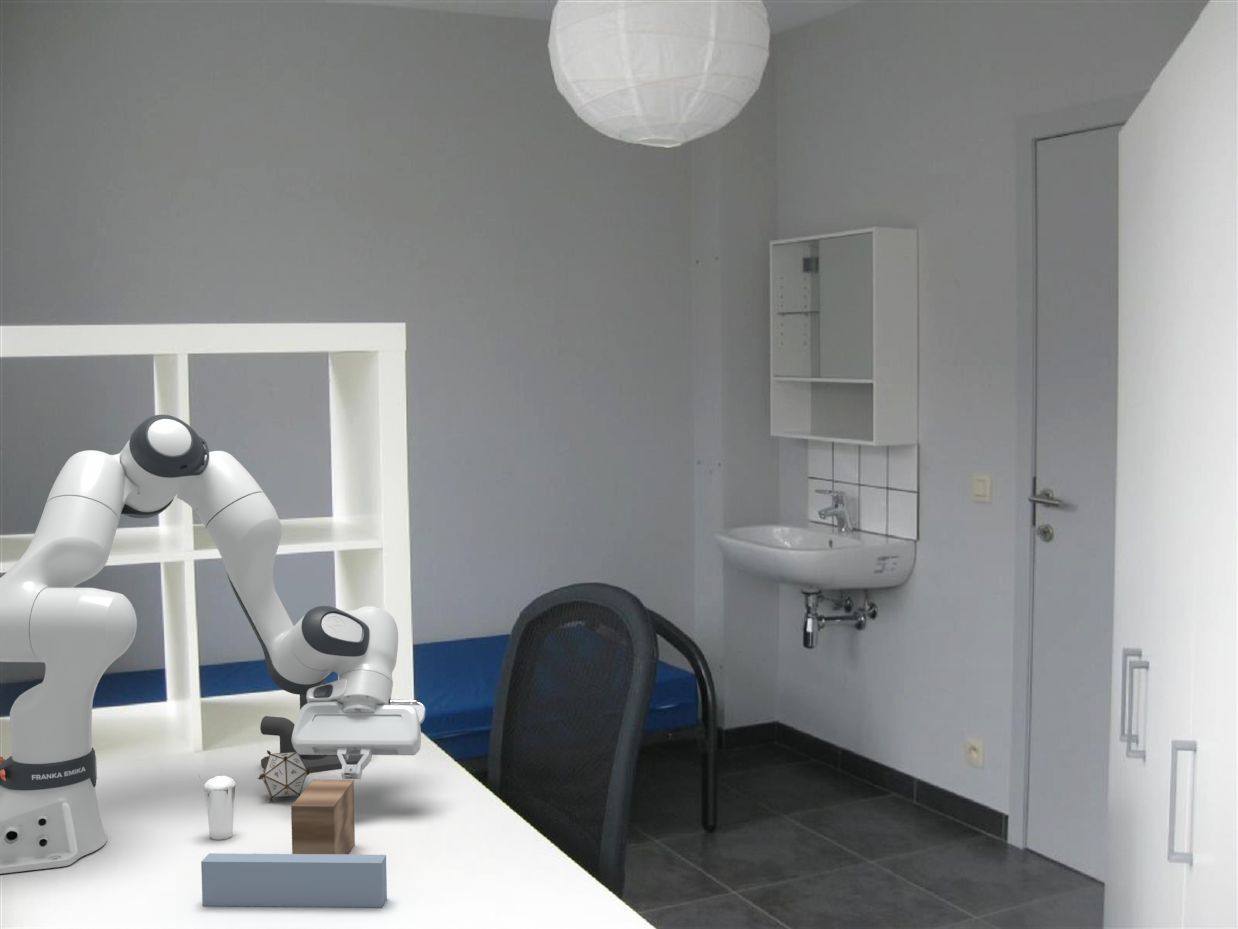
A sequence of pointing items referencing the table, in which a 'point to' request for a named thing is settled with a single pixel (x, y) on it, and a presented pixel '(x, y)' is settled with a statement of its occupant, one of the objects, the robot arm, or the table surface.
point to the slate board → (294, 880)
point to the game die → (284, 774)
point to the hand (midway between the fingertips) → (350, 777)
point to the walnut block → (324, 818)
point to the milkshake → (220, 806)
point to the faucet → (285, 730)
